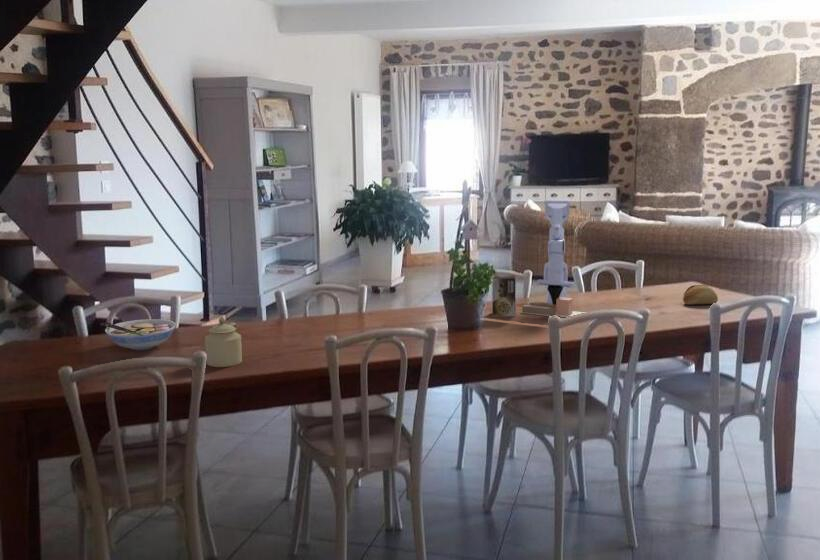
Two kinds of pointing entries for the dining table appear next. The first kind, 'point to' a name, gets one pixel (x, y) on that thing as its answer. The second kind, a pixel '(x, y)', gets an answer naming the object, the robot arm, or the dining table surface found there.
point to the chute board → (543, 309)
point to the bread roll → (699, 295)
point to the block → (564, 306)
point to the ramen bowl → (140, 333)
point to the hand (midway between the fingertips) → (555, 304)
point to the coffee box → (503, 295)
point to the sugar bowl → (223, 345)
